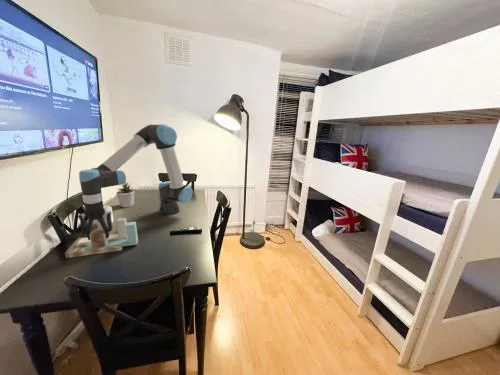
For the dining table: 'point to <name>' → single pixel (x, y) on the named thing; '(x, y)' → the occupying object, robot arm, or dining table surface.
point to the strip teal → (131, 240)
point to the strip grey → (121, 235)
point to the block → (97, 238)
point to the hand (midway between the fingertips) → (99, 244)
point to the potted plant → (126, 196)
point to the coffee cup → (107, 209)
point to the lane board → (80, 249)
